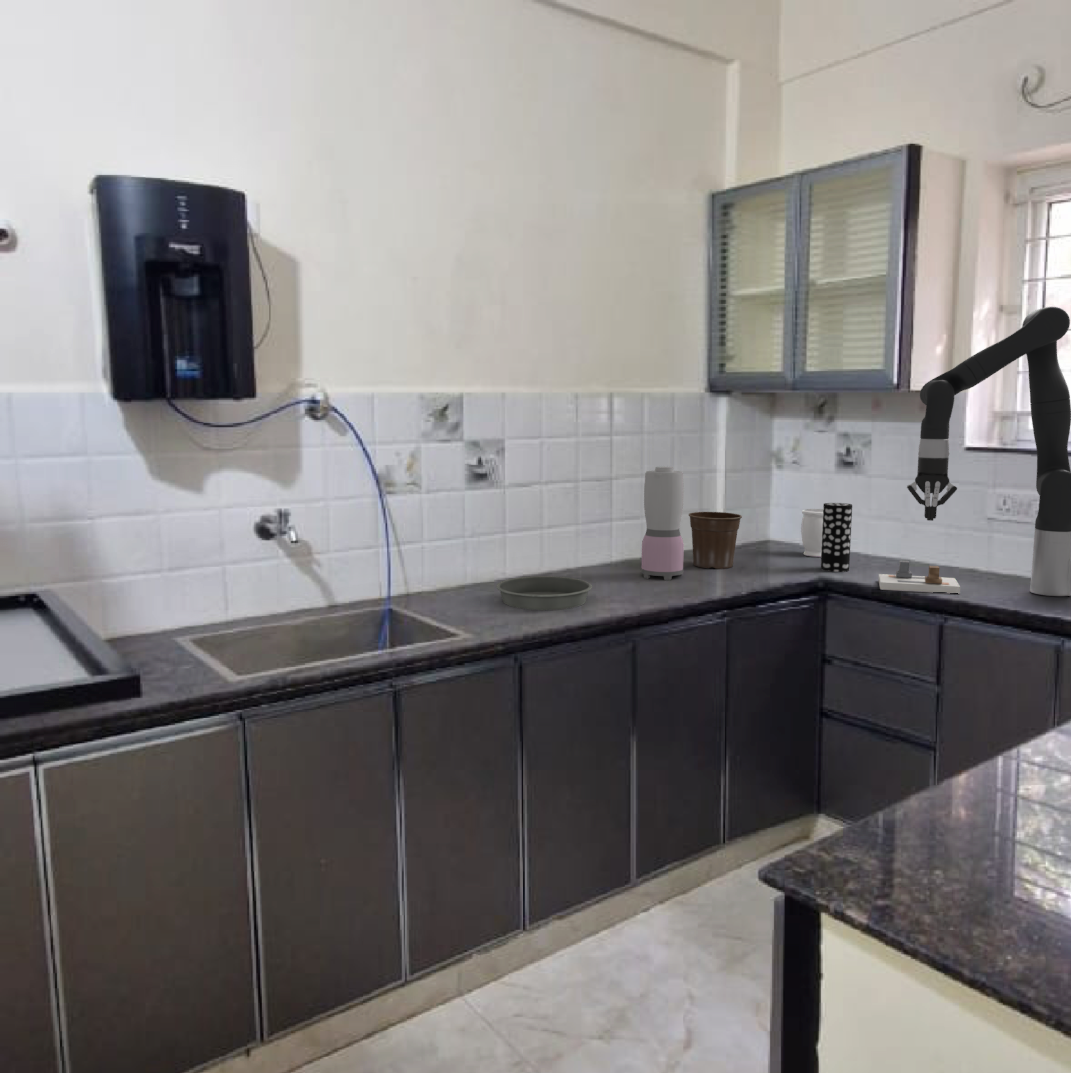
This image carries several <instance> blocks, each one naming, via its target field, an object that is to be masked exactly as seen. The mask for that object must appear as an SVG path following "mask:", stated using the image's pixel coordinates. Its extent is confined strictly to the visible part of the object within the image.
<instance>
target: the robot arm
mask: <svg viewBox="0 0 1071 1073" xmlns="http://www.w3.org/2000/svg"><path fill="white" fill-rule="evenodd" d="M1021 325H1022V326H1021V327H1020V328H1019V329H1018V330H1016V331H1015V332H1013V333H1012V334H1010V335H1008V336H1007V337H1005V338H1003V339H1001V340H1000V341H997V342H996V343H994V344H992V345H990V346H988V347H986V348H983V349H982V350H980V351H978V352H976V353H975V354H973V355H971V356H970V357H968V358H967V359H965V360H963V361H961V363H959V364H957V365H956V366H954V367H953V368H952V369H950V370H948V371H946V372H944V373H942V374H939V375H937V376H936V377H934V378H932V379H931V380H929V381H927V382H926V383H924V385H923V386H922V387H921V388H920V392H919V398H920V401H921V402H922V404H923V405H925V406H926V407H925V414H924V417H923V418H922V420H921V423H920V440H919V445H918V451H917V452H918V457H917V475H916V477H915V479H914V481H913V482H912V483H911V484H908V485H906V489H907V490H908V491H909V492H910V494H911V495H912V496H913V498H914V499H915V500H916V501H917V503H918V504H920V505H922V506H924V515H923V516H924V518H925V519H926V521H929V522H930V521H934V519H936V518H937V512H938V511H937V507H939V506H941V505H944V504H945V503H946V502H947V501H948V500H949V499H950V498H951V497H952V496H953V494H955V492H956V491H957V490H958V487H957V486H956V485H953V484H952V482H950V478H949V475H948V474H949V473H948V472H949V461H950V460H949V459H950V443H949V442H950V441H949V440H950V437H949V436H950V421H951V420H950V419H951V417H952V413H953V408H954V404H955V396H956V395H958V394H960V393H961V392H963V391H966V390H970V389H971V388H974V387H975V386H977V385H978V384H980V383H982V382H984V381H985V380H986V379H988V378H990V377H991V376H992V375H994V374H995V373H997V372H999V371H1001V369H1004V368H1005V367H1006V366H1008V365H1010V364H1012V363H1013V362H1014V361H1016V360H1017V359H1019V358H1022V357H1024V356H1025V355H1026V359H1027V366H1028V368H1027V369H1028V385H1029V402H1030V403H1029V405H1030V414H1031V415H1030V416H1031V423H1032V431H1033V437H1034V442H1035V448H1036V482H1035V485H1036V486H1035V488H1036V491H1037V494H1038V496H1039V499H1038V500H1039V501H1038V502H1039V503H1038V511H1037V512H1038V513H1037V516H1036V518H1035V521H1034V522H1035V524H1034V533H1033V534H1034V535H1033V547H1032V548H1033V549H1032V560H1031V561H1032V562H1031V573H1030V574H1031V575H1030V583H1029V584H1030V586H1029V591H1030V593H1032V594H1035V595H1041V596H1047V597H1068V596H1069V597H1071V467H1070V466H1071V465H1070V460H1069V453H1068V452H1069V451H1068V448H1069V447H1068V446H1069V445H1068V444H1069V438H1070V431H1071V395H1070V390H1069V386H1068V384H1067V381H1066V379H1065V377H1064V375H1063V372H1062V370H1061V368H1060V367H1061V366H1060V363H1059V359H1058V341H1059V340H1061V339H1062V338H1063V337H1064V336H1065V335H1066V334H1067V333H1068V331H1069V328H1070V325H1071V320H1070V316H1069V314H1068V313H1067V311H1066V310H1064V309H1063V308H1060V307H1058V306H1045V307H1042V308H1038V309H1035V310H1033V311H1031V312H1030V313H1028V314H1027V315H1026V316H1025V318H1024V320H1023V322H1022V324H1021ZM918 488H919V489H920V491H921V492H922V493H923V496H924V499H922V497H920V495H919V493H918V492H917V491H918ZM945 489H946V492H945V493H944V494H943V495H942V497H941V498H940V499H939V494H940V493H942V491H943V490H945Z"/></svg>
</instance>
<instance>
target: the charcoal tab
mask: <svg viewBox="0 0 1071 1073" xmlns="http://www.w3.org/2000/svg"><path fill="white" fill-rule="evenodd" d="M898 565H899V566H898V570H895V575H896V577H909V578H912V576H913V573H912V571H911V570H910V561H909V560H900V559H899V564H898Z"/></svg>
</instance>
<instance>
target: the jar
mask: <svg viewBox="0 0 1071 1073" xmlns="http://www.w3.org/2000/svg"><path fill="white" fill-rule="evenodd" d="M801 513H802V515H803V517H802V520H801V527H800V529H801V530H800V532H801V543H802V546H803V549H804V551H803V555H804V556H806V557H812V558H813V557H814V558H821V550H822V528H823V508H822V509H821V508H810V509H802V510H801Z"/></svg>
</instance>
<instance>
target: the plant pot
mask: <svg viewBox="0 0 1071 1073" xmlns="http://www.w3.org/2000/svg"><path fill="white" fill-rule="evenodd" d="M688 516H689V524H690V528H691V542H692V561H693V562H692V564H693V566H695V567H697V568H702V569H710V568H714V569H715V570H720V569H721V570H725V569H731V568H733V566H734V559H735V552H736V544H737V536H738V530H739V529H740V522H741V519H742V517H743V515H741V514H738V513H734V512H733V513H732V512H727V511H726V512H725V511H696V512H690V513H688Z"/></svg>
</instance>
